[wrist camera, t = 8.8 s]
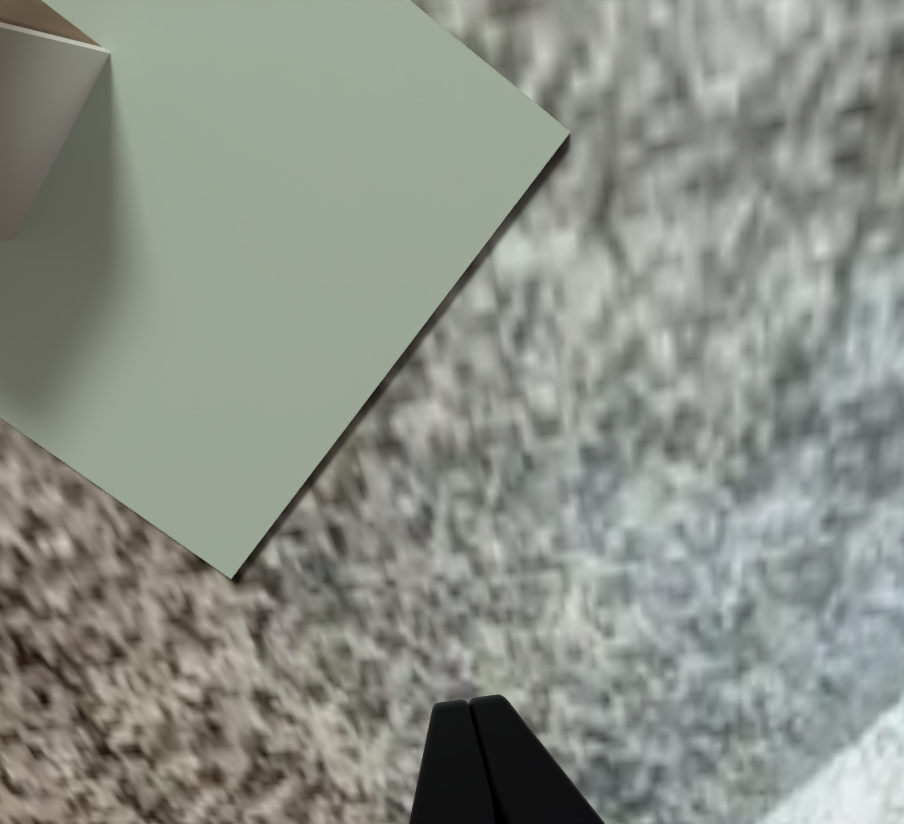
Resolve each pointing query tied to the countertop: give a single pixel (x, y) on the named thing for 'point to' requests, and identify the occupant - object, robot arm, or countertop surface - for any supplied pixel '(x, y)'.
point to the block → (38, 98)
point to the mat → (248, 244)
